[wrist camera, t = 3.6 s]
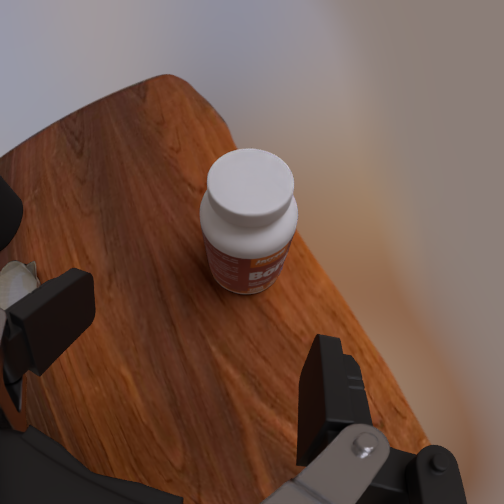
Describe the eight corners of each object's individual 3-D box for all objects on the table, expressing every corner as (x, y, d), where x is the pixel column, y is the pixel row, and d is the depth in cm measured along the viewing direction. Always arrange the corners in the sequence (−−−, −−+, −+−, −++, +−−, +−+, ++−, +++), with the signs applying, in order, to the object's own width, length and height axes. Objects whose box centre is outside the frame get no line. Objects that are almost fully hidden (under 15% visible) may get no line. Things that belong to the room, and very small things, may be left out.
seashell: (8, 290, 24) (3, 354, 20) (-10, 276, 22) (-19, 342, 17) (53, 260, 25) (51, 330, 20) (34, 243, 22) (27, 315, 18)
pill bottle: (253, 311, 24) (265, 253, 14) (194, 267, 25) (167, 188, 15) (295, 254, 26) (328, 172, 16) (239, 217, 27) (240, 125, 17)
